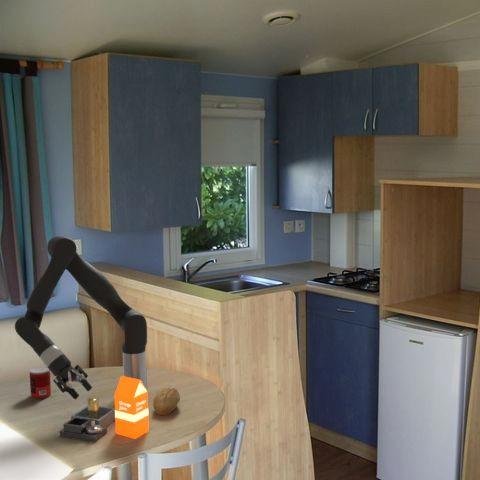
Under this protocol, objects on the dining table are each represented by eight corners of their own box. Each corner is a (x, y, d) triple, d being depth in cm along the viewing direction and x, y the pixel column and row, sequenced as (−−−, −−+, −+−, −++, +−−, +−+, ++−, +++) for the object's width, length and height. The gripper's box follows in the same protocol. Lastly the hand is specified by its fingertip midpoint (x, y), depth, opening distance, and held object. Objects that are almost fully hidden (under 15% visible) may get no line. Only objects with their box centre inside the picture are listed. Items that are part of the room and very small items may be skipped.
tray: (89, 415, 269) (88, 404, 269) (116, 418, 265) (115, 408, 265) (71, 426, 259) (71, 416, 258) (99, 431, 255) (99, 420, 254)
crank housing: (72, 427, 258) (71, 411, 257) (106, 432, 253) (106, 416, 252) (59, 436, 251) (58, 419, 250) (94, 442, 246) (93, 424, 245)
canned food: (54, 393, 292) (53, 367, 291) (43, 400, 285) (42, 373, 283) (38, 391, 295) (37, 365, 293) (27, 398, 287) (25, 371, 286)
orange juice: (134, 439, 248) (132, 383, 245) (115, 433, 253) (113, 378, 250) (149, 431, 255) (147, 376, 252) (130, 425, 259) (128, 372, 256)
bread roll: (183, 402, 281) (182, 382, 280) (176, 417, 266) (175, 396, 265) (159, 401, 282) (158, 382, 281) (150, 416, 267) (149, 396, 266)
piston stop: (92, 417, 265) (91, 396, 263) (101, 418, 263) (100, 397, 262) (86, 421, 261) (85, 400, 260) (95, 422, 260) (94, 401, 258)
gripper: (49, 359, 256) (79, 394, 254) (72, 348, 269) (100, 380, 267) (37, 372, 259) (66, 406, 257) (60, 360, 272) (88, 393, 270)
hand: (83, 393), depth 262 cm, fingers open, 8 cm apart
